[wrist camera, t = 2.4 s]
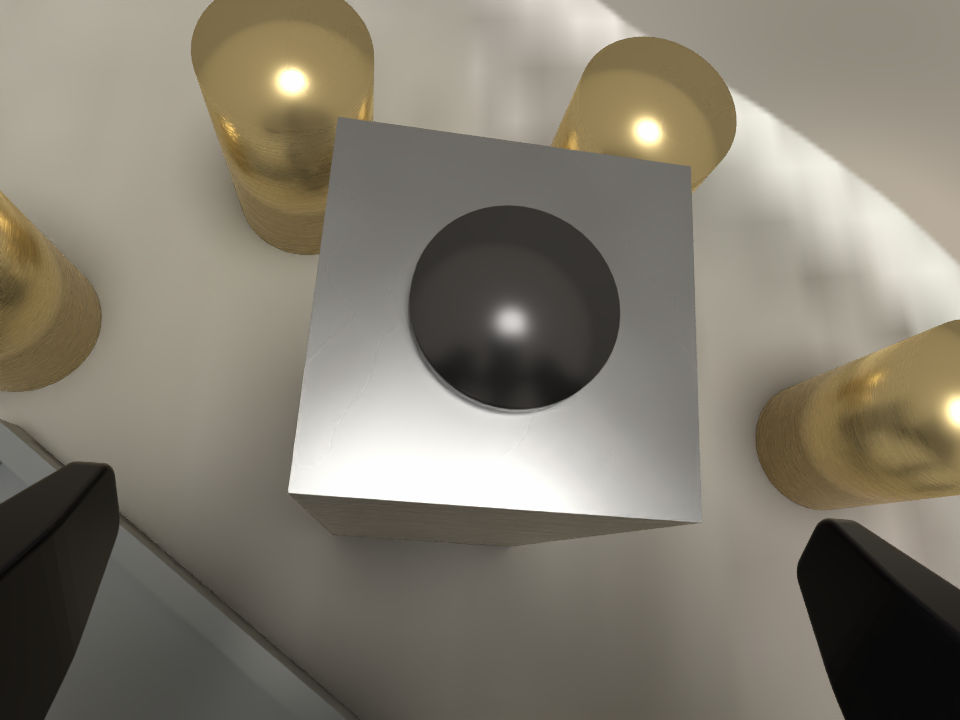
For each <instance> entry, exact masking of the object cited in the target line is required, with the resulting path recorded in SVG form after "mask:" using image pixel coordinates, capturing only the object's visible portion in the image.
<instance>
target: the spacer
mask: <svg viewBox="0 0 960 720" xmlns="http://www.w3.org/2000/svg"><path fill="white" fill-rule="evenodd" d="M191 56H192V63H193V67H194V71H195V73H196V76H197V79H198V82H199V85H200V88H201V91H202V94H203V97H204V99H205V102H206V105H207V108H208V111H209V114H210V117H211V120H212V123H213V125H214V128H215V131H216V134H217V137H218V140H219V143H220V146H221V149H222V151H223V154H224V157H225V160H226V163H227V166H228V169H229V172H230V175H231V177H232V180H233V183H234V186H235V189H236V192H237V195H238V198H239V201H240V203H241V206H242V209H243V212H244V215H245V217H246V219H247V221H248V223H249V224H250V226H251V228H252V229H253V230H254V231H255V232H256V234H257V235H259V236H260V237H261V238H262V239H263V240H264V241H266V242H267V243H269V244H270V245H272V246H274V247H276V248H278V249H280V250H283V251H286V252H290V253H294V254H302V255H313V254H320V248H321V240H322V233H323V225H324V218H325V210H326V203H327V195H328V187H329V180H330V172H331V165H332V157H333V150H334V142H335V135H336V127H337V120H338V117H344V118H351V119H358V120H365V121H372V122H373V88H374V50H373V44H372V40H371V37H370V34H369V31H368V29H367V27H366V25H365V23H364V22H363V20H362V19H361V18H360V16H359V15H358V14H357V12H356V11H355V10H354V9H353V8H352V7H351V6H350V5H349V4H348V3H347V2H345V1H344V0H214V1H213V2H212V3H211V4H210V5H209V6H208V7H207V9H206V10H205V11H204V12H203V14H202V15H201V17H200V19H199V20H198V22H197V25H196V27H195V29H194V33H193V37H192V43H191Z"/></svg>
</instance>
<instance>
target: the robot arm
mask: <svg viewBox="0 0 960 720" xmlns="http://www.w3.org/2000/svg"><path fill="white" fill-rule="evenodd" d="M119 524H120V514H119V506H118V498H117V489H116V481H115V474H114V471H113V469H112V467H111V466H110V465H108V464H106V463H95V462H82V461H77V462H72V463H70V464H67V465H66V466H64V467H62V468H60V469H59V470H57V471H55V472H53V473H52V474H50V475H48V476H47V477H45V478H43V479H41V480H40V481H38V482H36V483H34V484H33V485H31V486H29V487H28V488H26V489H24V490H22V491H21V492H19V493H17V494H15V495H14V496H12V497H10V498H9V499H7V500H5V501H3V502H2V503H0V720H44V719H45V717H46V715H47V713H48V711H49V709H50V707H51V705H52V703H53V701H54V699H55V697H56V695H57V693H58V691H59V689H60V687H61V684H62V682H63V680H64V678H65V676H66V674H67V672H68V670H69V667H70V665H71V663H72V661H73V659H74V656H75V654H76V651H77V649H78V646H79V643H80V641H81V638H82V635H83V632H84V630H85V627H86V624H87V621H88V618H89V615H90V613H91V610H92V607H93V604H94V601H95V598H96V595H97V593H98V590H99V587H100V584H101V581H102V578H103V576H104V573H105V570H106V567H107V564H108V561H109V558H110V556H111V553H112V550H113V547H114V544H115V541H116V538H117V535H118V531H119ZM797 579H798V583H799V586H800V589H801V593H802V596H803V599H804V602H805V605H806V609H807V612H808V615H809V618H810V621H811V624H812V628H813V631H814V634H815V637H816V640H817V644H818V647H819V650H820V653H821V656H822V659H823V663H824V666H825V669H826V672H827V675H828V678H829V681H830V684H831V686H832V689H833V692H834V694H835V697H836V699H837V702H838V704H839V707H840V709H841V712H842V714H843V716H844V719H845V720H960V589H958V588H957V587H955V586H954V585H952V584H951V583H949V582H948V581H946V580H944V579H943V578H941V577H940V576H938V575H937V574H935V573H934V572H932V571H931V570H929V569H928V568H926V567H925V566H923V565H922V564H920V563H919V562H917V561H915V560H914V559H912V558H911V557H909V556H908V555H906V554H905V553H903V552H902V551H900V550H899V549H897V548H896V547H894V546H893V545H891V544H889V543H888V542H886V541H885V540H883V539H882V538H880V537H879V536H877V535H876V534H874V533H873V532H871V531H870V530H868V529H867V528H865V527H863V526H862V525H860V524H859V523H857V522H855V521H852V520H844V519H831V518H827V519H823V520H822V521H820V522H819V523H818V524H817V526H816V527H815V529H814V531H813V533H812V535H811V537H810V539H809V541H808V543H807V545H806V547H805V549H804V551H803V553H802V555H801V557H800V559H799V562H798V566H797Z"/></svg>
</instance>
